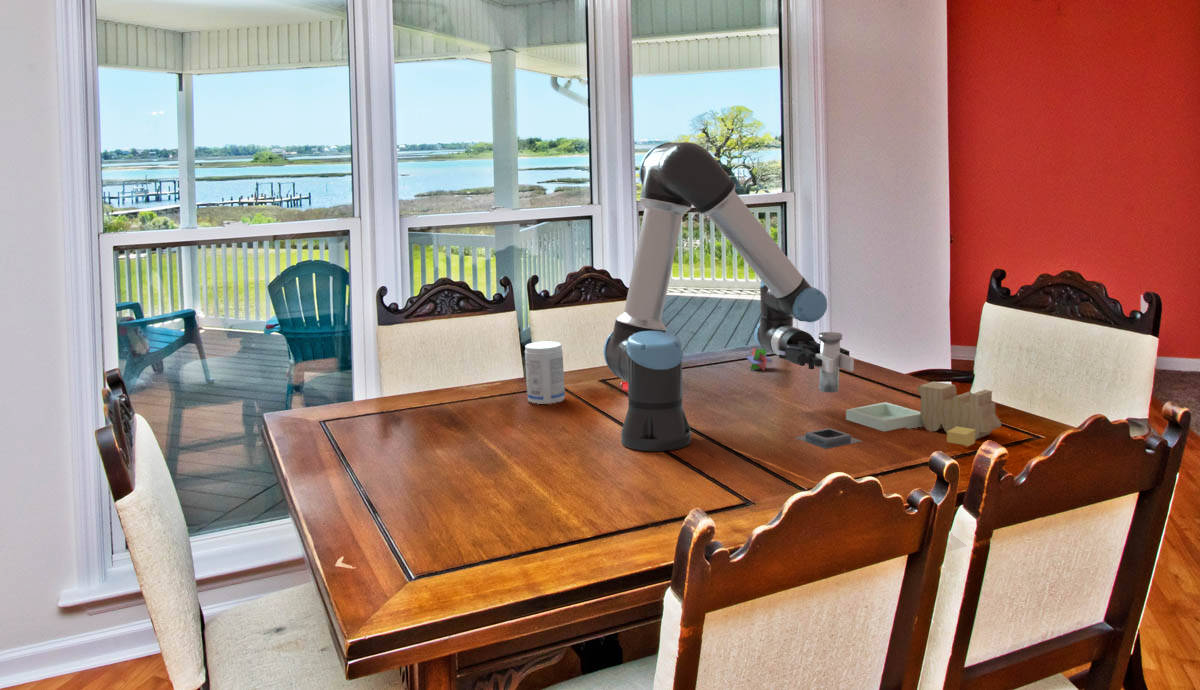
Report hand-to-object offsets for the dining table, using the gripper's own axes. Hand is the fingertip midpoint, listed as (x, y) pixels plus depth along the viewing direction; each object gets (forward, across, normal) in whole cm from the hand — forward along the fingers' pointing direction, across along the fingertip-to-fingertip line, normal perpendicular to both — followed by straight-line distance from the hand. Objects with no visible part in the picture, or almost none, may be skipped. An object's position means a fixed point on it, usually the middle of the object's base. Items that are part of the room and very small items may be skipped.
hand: (841, 365), depth 207 cm
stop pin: (-5, 0, -6) cm, 8 cm away
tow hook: (-67, +24, -19) cm, 74 cm away
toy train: (-3, -30, -18) cm, 35 cm away
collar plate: (-5, 0, -18) cm, 19 cm away
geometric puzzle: (-77, -14, -18) cm, 81 cm away
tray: (-14, -18, -18) cm, 29 cm away
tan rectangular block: (+4, -26, -18) cm, 31 cm away
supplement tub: (-62, +50, -19) cm, 82 cm away
